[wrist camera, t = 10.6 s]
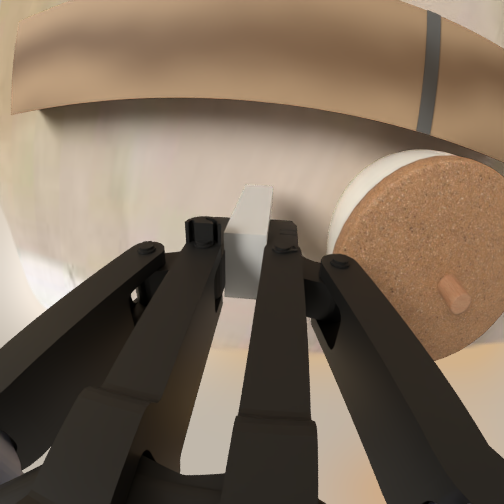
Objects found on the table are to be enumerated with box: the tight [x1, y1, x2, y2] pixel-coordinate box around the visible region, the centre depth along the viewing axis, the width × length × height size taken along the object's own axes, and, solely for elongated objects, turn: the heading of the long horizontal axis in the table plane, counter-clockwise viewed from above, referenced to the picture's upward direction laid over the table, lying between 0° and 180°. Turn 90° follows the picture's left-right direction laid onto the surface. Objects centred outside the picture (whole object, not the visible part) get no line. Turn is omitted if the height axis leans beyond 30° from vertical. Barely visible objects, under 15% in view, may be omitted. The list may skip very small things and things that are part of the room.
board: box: [11, 0, 504, 162], centre depth 13 cm, size 7×32×3 cm, turn 85°
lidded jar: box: [326, 149, 504, 361], centre depth 14 cm, size 11×11×9 cm
